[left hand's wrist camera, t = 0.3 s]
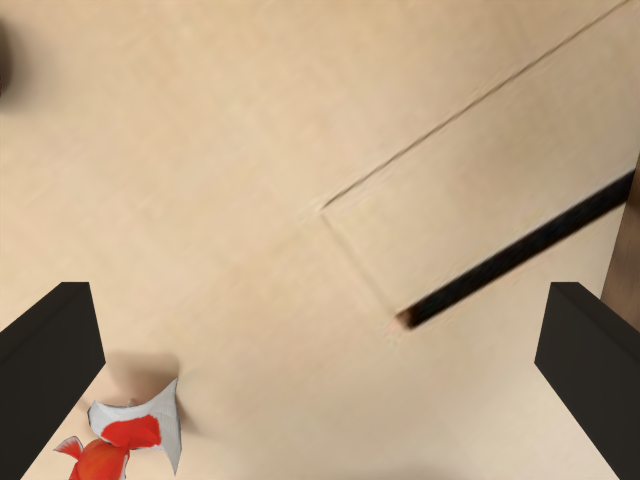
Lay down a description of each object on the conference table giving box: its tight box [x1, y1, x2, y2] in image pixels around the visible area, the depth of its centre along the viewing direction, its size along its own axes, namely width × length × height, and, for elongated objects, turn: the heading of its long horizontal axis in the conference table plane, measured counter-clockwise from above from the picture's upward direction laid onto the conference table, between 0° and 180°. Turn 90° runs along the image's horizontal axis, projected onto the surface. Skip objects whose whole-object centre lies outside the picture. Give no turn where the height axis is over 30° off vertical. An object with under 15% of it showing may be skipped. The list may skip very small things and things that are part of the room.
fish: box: [53, 377, 182, 480], centre depth 44 cm, size 11×16×10 cm
